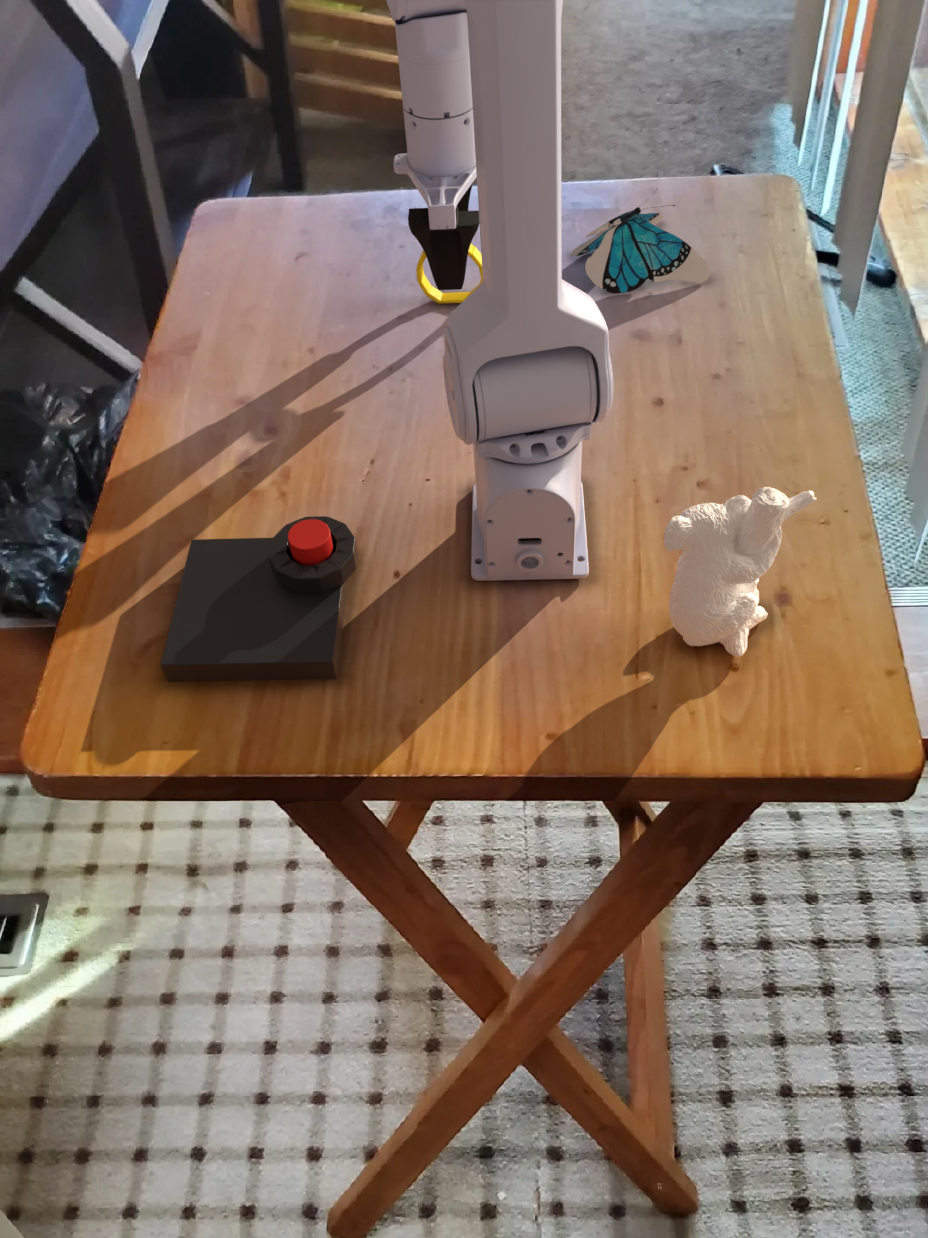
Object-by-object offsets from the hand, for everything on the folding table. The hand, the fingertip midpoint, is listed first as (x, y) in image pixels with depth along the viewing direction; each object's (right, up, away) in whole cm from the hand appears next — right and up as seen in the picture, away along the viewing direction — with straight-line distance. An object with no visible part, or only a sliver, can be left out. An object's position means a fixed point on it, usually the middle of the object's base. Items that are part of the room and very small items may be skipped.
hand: (451, 261), depth 92 cm
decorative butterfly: (+16, +1, +5) cm, 17 cm away
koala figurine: (+18, -31, -22) cm, 42 cm away
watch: (0, -3, +3) cm, 4 cm away
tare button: (-9, -26, -20) cm, 34 cm away
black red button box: (-12, -30, -20) cm, 38 cm away
